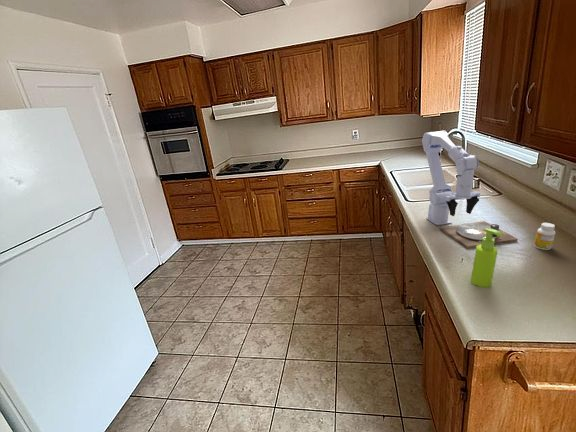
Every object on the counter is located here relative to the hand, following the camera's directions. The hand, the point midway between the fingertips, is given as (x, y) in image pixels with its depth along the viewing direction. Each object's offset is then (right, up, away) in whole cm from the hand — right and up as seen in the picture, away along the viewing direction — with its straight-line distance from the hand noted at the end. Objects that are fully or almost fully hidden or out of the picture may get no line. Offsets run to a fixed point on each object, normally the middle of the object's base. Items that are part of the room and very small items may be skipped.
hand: (460, 214), depth 132 cm
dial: (+7, -8, 0) cm, 11 cm away
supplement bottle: (+25, -13, -13) cm, 31 cm away
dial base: (+7, -9, 0) cm, 12 cm away
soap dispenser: (-10, -24, -30) cm, 39 cm away
